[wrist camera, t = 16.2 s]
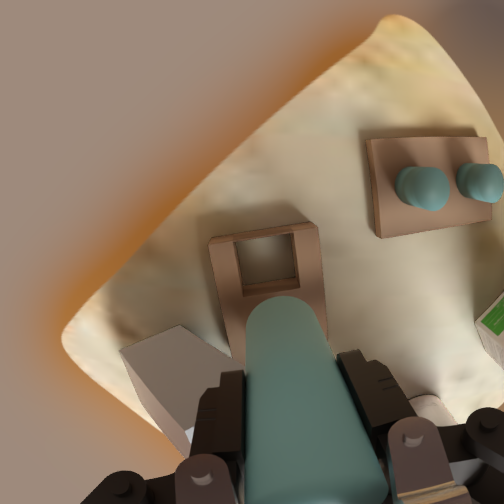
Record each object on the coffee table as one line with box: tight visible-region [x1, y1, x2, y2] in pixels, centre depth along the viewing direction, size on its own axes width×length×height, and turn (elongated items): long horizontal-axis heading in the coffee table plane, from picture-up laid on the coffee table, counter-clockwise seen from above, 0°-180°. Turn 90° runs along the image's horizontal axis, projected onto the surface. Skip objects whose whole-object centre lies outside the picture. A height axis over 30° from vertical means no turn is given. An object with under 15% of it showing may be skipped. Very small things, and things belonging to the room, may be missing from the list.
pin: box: [244, 296, 389, 504], centre depth 9 cm, size 3×3×9 cm
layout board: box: [365, 137, 504, 239], centre depth 22 cm, size 8×13×5 cm, turn 99°
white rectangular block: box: [119, 325, 245, 459], centre depth 21 cm, size 6×12×6 cm
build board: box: [208, 222, 328, 366], centre depth 22 cm, size 11×8×9 cm
